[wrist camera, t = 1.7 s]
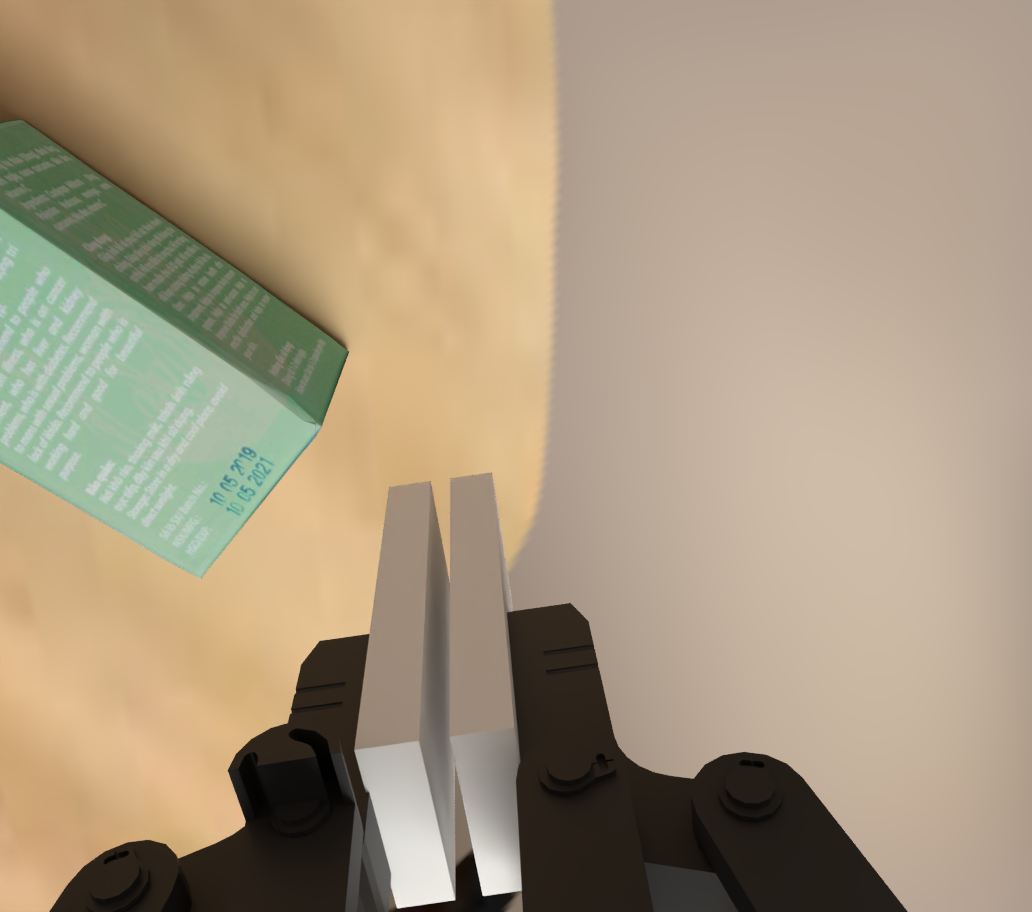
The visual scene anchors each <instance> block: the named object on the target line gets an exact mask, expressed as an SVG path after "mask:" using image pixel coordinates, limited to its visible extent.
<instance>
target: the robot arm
mask: <svg viewBox="0 0 1032 912" xmlns="http://www.w3.org/2000/svg"><path fill="white" fill-rule="evenodd" d="M291 710H292V714H290V716H289V721H288V723H287V724H284V725H280V726H277V727H273V728H270V729H269V730H267V731H265V732H263V733H262V734H260V735H258V736H256V737H254V738H253V739H251V740H250V741H249V742H248V743H247V744H246V745H245V746H244V747H243V748H242V749H241V750H240V751H239V752H238V753H237V754H236V755H235V757H234V759H233V761H232V763H231V765H230V767H229V769H228V772H229V775H230V778H231V781H232V783H233V786H234V789H235V792H236V795H237V798H238V800H239V803H240V806H241V809H242V812H243V814H244V817H245V820H246V823H245V827H243V828H242V829H240V830H239V831H238V832H236V833H235V834H233V835H232V836H230V837H228V838H226V839H224V840H222V841H220V842H218V843H216V844H213V845H211V846H208V847H206V848H203V849H201V850H198V851H196V852H193V853H191V854H189V855H186V856H184V857H181V858H179V859H178V858H177V856H176V854H175V853H174V852H173V851H172V850H171V849H170V848H169V847H168V846H167V845H166V844H163V843H159V842H155V841H151V840H144V841H136V842H128V843H125V844H123V845H120V846H118V847H115V848H113V849H110V850H108V851H105V852H104V853H102V854H101V855H99V856H98V857H97V858H95V859H94V860H92V861H91V862H90V863H88V864H87V865H85V866H84V867H83V868H82V869H81V870H80V871H79V872H78V874H77V875H76V876H75V877H74V878H73V879H72V880H71V881H70V883H69V884H68V885H67V886H66V888H65V889H64V891H63V892H62V894H61V895H60V897H59V898H58V900H57V901H56V903H55V904H54V906H53V907H52V909H51V910H50V912H389V899H390V886H391V888H392V891H393V895H394V899H395V902H396V906H397V908H403V907H410V906H417V905H424V904H431V903H438V902H445V901H452V900H455V764H456V769H457V774H458V779H459V783H460V788H461V792H462V797H463V803H464V807H465V812H466V817H467V822H468V826H469V832H470V836H471V841H472V846H473V851H474V856H475V860H476V865H477V870H478V875H479V880H480V884H481V889H482V894H483V896H487V895H494V894H501V893H508V892H515V891H522V901H523V912H907V910H906V909H905V908H904V907H903V905H902V904H901V903H900V901H899V900H898V899H897V898H896V896H895V895H894V894H893V893H892V891H891V890H890V889H889V887H888V886H887V885H886V884H885V883H884V881H883V880H882V878H881V877H880V876H879V875H878V873H877V872H876V871H875V870H874V868H873V867H872V866H871V864H870V863H869V862H868V861H867V859H866V858H865V857H864V856H863V854H862V853H861V852H860V850H859V849H858V848H857V847H856V845H855V844H854V843H853V841H852V840H851V839H850V838H849V836H848V835H847V834H846V833H845V831H844V830H843V829H842V827H841V826H840V825H839V824H838V823H837V821H836V820H835V819H834V817H833V816H832V815H831V814H830V812H829V811H828V810H827V808H826V807H825V806H824V805H823V803H822V802H821V801H820V800H819V798H818V797H817V796H816V795H815V793H814V792H813V791H812V789H811V788H810V787H809V785H808V784H807V783H806V782H805V780H804V779H803V778H802V777H801V776H800V775H799V774H798V773H797V772H795V771H794V770H793V769H792V768H791V767H790V766H789V765H787V764H786V763H783V762H781V761H779V760H777V759H774V758H772V757H770V756H768V755H763V754H755V753H747V752H741V753H734V754H728V755H723V756H720V757H719V758H717V759H715V760H713V761H711V762H709V763H707V764H705V765H704V767H703V768H702V769H701V770H700V772H699V773H698V774H697V776H696V777H695V778H694V779H690V778H682V777H674V776H668V775H663V774H658V773H654V772H652V771H649V770H647V769H645V768H642V767H640V766H638V765H637V764H636V763H634V762H633V761H631V760H630V759H629V758H627V757H626V755H625V754H624V753H623V752H622V751H621V749H620V748H619V747H618V744H617V742H616V740H615V737H614V733H613V729H612V724H611V720H610V716H609V711H608V707H607V703H606V698H605V693H604V689H603V684H602V680H601V676H600V671H599V668H598V662H597V658H596V653H595V649H594V645H593V640H592V636H591V631H590V627H589V622H588V621H587V620H586V619H585V617H584V616H583V615H581V613H580V612H579V611H578V610H577V609H576V608H575V607H574V606H573V605H572V604H571V603H569V604H561V605H554V606H548V607H541V608H533V609H526V610H520V611H513V609H512V599H511V592H510V585H509V579H508V572H507V566H506V559H505V553H504V547H503V540H502V534H501V527H500V521H499V514H498V508H497V502H496V495H495V489H494V482H493V476H492V473H486V474H479V475H471V476H464V477H457V478H450V581H449V576H448V571H447V565H446V560H445V555H444V549H443V544H442V539H441V534H440V528H439V523H438V518H437V512H436V507H435V502H434V497H433V491H432V486H431V481H429V482H422V483H415V484H408V485H401V486H394V487H389V491H388V499H387V506H386V514H385V521H384V529H383V536H382V544H381V552H380V559H379V567H378V574H377V582H376V589H375V597H374V605H373V612H372V620H371V627H370V634H366V635H359V636H352V637H345V638H338V639H331V640H324V641H319V643H318V644H317V645H316V647H315V648H314V649H313V650H312V652H311V653H310V654H309V655H308V657H307V658H306V659H305V661H304V662H303V663H302V664H301V669H300V673H299V677H298V682H297V686H296V694H295V695H294V699H293V703H292V708H291Z"/></svg>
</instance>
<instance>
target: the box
mask: <svg viewBox="0 0 1032 912" xmlns="http://www.w3.org/2000/svg"><path fill="white" fill-rule="evenodd" d="M348 353H349V351H347V350H346V349H345V348H344V347H342V346H341V345H340V344H338V343H337V342H336V341H335V340H333V339H332V338H331V337H330V336H328V335H327V334H325V333H324V332H323V331H321V330H320V329H319V328H317V327H316V326H314V325H313V324H312V323H310V322H309V321H307V320H306V319H305V318H303V317H302V316H301V315H299V314H298V313H296V312H295V311H294V310H292V309H291V308H289V307H288V306H287V305H285V304H284V303H283V302H281V301H280V300H279V299H277V298H276V297H275V296H273V295H272V294H270V293H269V292H268V291H266V290H265V289H264V288H262V287H261V286H260V285H258V284H257V283H256V282H254V281H253V280H251V279H250V278H249V277H247V276H246V275H245V274H243V273H242V272H240V271H239V270H237V269H236V268H235V267H233V266H232V265H230V264H229V263H227V262H226V261H225V260H223V259H222V258H220V257H219V256H217V255H216V254H214V253H213V252H212V251H210V250H209V249H207V248H206V247H204V246H203V245H201V244H200V243H199V242H197V241H196V240H194V239H193V238H191V237H190V236H189V235H187V234H186V233H184V232H183V231H181V230H180V229H178V228H177V227H176V226H174V225H173V224H171V223H170V222H168V221H167V220H165V219H164V218H163V217H161V216H160V215H158V214H157V213H155V212H154V211H152V210H151V209H150V208H148V207H147V206H145V205H144V204H142V203H141V202H139V201H138V200H136V199H135V198H134V197H132V196H131V195H129V194H128V193H126V192H125V191H123V190H122V189H120V188H119V187H117V186H116V185H115V184H113V183H112V182H110V181H109V180H107V179H106V178H104V177H103V176H101V175H100V174H98V173H97V172H96V171H94V170H93V169H91V168H90V167H89V166H87V165H86V164H84V163H83V162H82V161H80V160H79V159H77V158H76V157H75V156H73V155H72V154H70V153H69V152H68V151H66V150H65V149H63V148H62V147H61V146H59V145H58V144H56V143H55V142H54V141H52V140H51V139H49V138H48V137H46V136H45V135H44V134H42V133H41V132H39V131H38V130H37V129H35V128H34V127H32V126H31V125H29V124H28V123H26V122H25V121H23V120H15V121H9V122H2V123H0V463H2V464H4V465H5V466H7V467H9V468H10V469H12V470H14V471H15V472H17V473H19V474H21V475H22V476H24V477H26V478H27V479H29V480H31V481H33V482H34V483H36V484H38V485H39V486H41V487H43V488H45V489H46V490H48V491H50V492H51V493H53V494H55V495H57V496H58V497H60V498H62V499H63V500H65V501H67V502H68V503H70V504H72V505H74V506H75V507H77V508H79V509H80V510H82V511H84V512H85V513H87V514H89V515H90V516H92V517H94V518H95V519H97V520H99V521H100V522H102V523H104V524H105V525H107V526H109V527H110V528H112V529H114V530H115V531H117V532H119V533H121V534H122V535H124V536H126V537H127V538H129V539H131V540H132V541H134V542H136V543H137V544H139V545H141V546H142V547H144V548H146V549H147V550H149V551H151V552H152V553H154V554H156V555H158V556H159V557H161V558H163V559H164V560H166V561H168V562H170V563H172V564H174V565H176V566H177V567H179V568H181V569H183V570H185V571H187V572H189V573H191V574H193V575H195V576H197V577H199V578H200V579H201V578H202V577H203V576H204V574H205V573H206V572H207V570H208V569H209V568H210V567H211V565H212V564H213V563H214V562H215V560H216V559H217V558H218V557H219V556H220V554H221V553H222V552H223V551H224V549H225V548H226V547H227V546H228V544H229V543H230V542H231V541H232V539H233V538H234V537H235V536H236V534H237V533H238V532H239V531H240V529H241V528H242V527H243V526H244V524H245V523H246V522H247V521H248V519H249V518H250V517H251V516H252V515H253V513H254V512H255V511H256V510H257V508H258V507H259V506H260V505H261V503H262V502H263V501H264V500H265V498H266V497H267V496H268V495H269V493H270V492H271V491H272V490H273V488H274V487H275V486H276V485H277V483H278V482H279V481H280V480H281V479H282V477H283V476H284V475H285V474H286V472H287V471H288V470H289V469H290V467H291V466H292V465H293V464H294V462H295V461H296V460H297V459H298V457H299V456H300V455H301V454H302V453H303V451H304V450H305V449H306V448H307V447H308V445H309V444H310V443H311V442H312V441H313V439H314V438H315V437H316V435H317V434H318V432H319V431H320V429H321V427H322V425H323V421H324V418H325V415H326V413H327V410H328V407H329V405H330V402H331V399H332V397H333V394H334V391H335V388H336V386H337V383H338V380H339V378H340V375H341V372H342V370H343V367H344V364H345V362H346V359H347V356H348Z"/></svg>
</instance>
